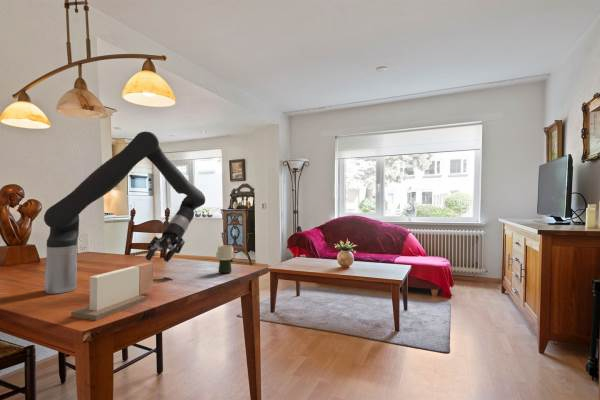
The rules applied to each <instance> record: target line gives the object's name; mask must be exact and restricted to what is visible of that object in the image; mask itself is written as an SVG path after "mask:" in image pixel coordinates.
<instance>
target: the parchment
mask: <svg viewBox="0 0 600 400" xmlns="http://www.w3.org/2000/svg"><path fill="white" fill-rule="evenodd" d="M173 280H174V279H173V278H170V277H162V278H155V279H154V278H153V287H154V286H156V285H158V284H162V283H165V282H168V281H173Z"/></svg>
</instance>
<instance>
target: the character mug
mask: <svg viewBox="0 0 600 400" xmlns="http://www.w3.org/2000/svg"><path fill="white" fill-rule="evenodd" d="M234 250H235V249H234V248H233V245H231V244H230V245H227V244H226V245H225V244H223V245H219V246H217V251H216V254H215V255H216V256H215V257H216V259H218V260H219V265H218V273H222V274H224V273H226V274H228V273H231V272H232V262H231V260H233V257H234V253H235V251H234Z"/></svg>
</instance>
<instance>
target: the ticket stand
mask: <svg viewBox="0 0 600 400" xmlns="http://www.w3.org/2000/svg"><path fill="white" fill-rule="evenodd" d="M139 268H140V267H135V265H133V266H127V267H124V268H120V269H117V270H116V269H115V270H113V271H112V270H111V271H108V272H104V273H101V274H95V275H92V276H89V305H87V306H84V307H83V306H82V307H81V308H78V309H74V310H72V311H70V317H71V318H78V319H84V320H88V321H89V320H91V321H96V322H97V321H99V320H101V319H105V318H107V317H109V316H111V315H114V314H118V312H121V311H124V310H127V309H129V308H132V307H134V306H137V305H139V304H141V303H144V302H147V301H148V296H147V295H143V294H139Z"/></svg>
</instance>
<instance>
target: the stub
mask: <svg viewBox="0 0 600 400" xmlns="http://www.w3.org/2000/svg"><path fill="white" fill-rule="evenodd" d="M134 266H135V267H140V268H139V295H144V294H146V293H149V292H151V291H153V290H154V286H153V279H154V263H153V262H143V263H139V264H136V265H134Z"/></svg>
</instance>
